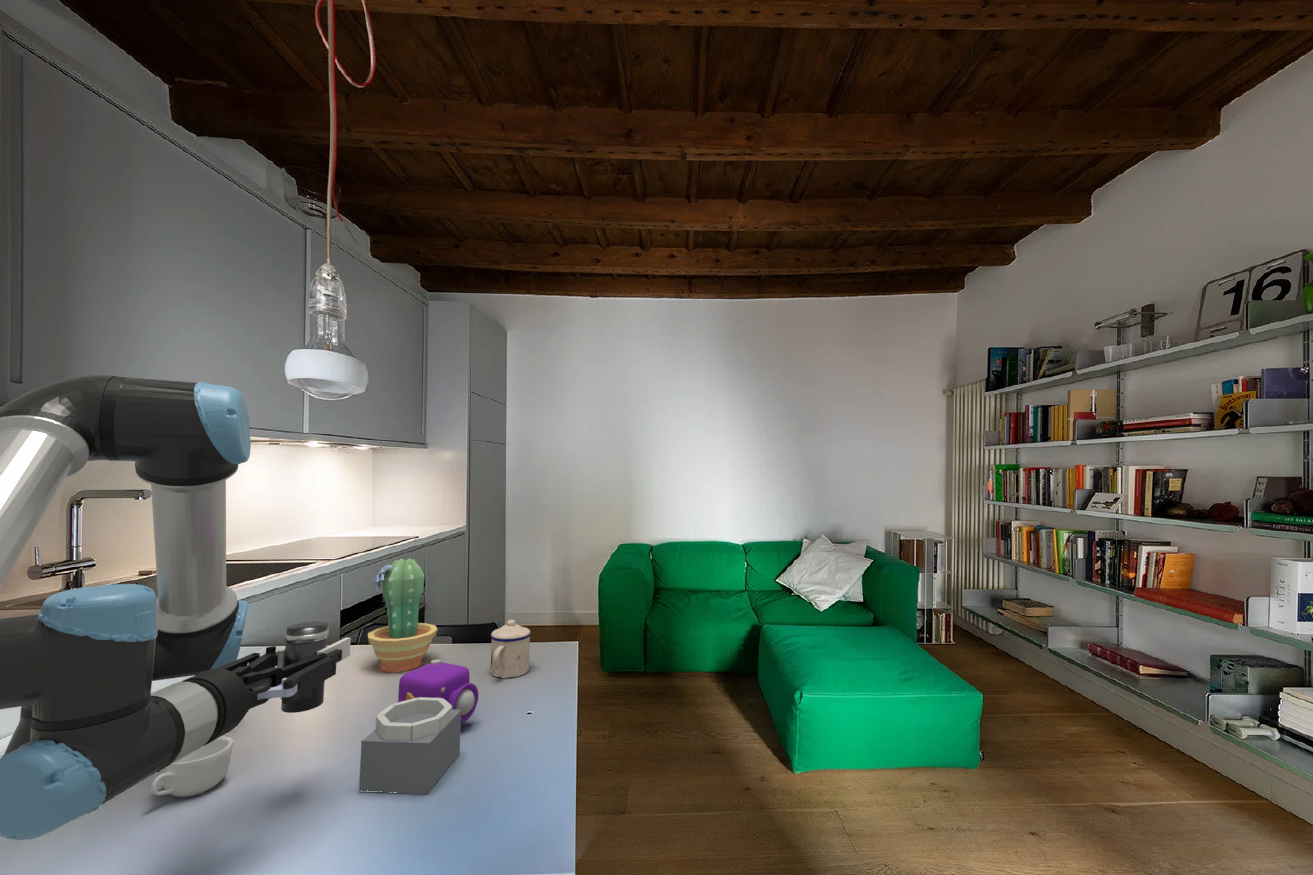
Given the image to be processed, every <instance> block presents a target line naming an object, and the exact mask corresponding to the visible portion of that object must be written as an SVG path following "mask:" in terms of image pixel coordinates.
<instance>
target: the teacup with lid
mask: <svg viewBox="0 0 1313 875" xmlns="http://www.w3.org/2000/svg"><path fill="white" fill-rule="evenodd" d="M531 635H532V632H531V630H530V629H529V628H528V627H525V626H522V625H520V624H517V621H516V620H515V619H509V620H507V622H506V624H504V625H502V626H501V627H499V628H497V629H495V630H493V631H492V632H491V634H490V638H491V644H490V646H491V648H490V674H491V676H493V677H494V676H495V678H497V677H513V676H518V675H522V674H524V673H526V672H527V671H528V672H529V671H530V648H531V647H530V642H531V641H530V640H531ZM528 672H527V673H528ZM527 673H526V674H527ZM524 675H525V674H524ZM522 676H523V675H522Z"/></svg>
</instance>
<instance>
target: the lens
mask: <svg viewBox="0 0 1313 875" xmlns="http://www.w3.org/2000/svg"><path fill="white" fill-rule="evenodd" d="M329 632H330V627H329V623H328V622H327V621H321V620H319V621H318V620H317V621H307V622H299V623H295V624H291V625H289V626H287V627H286V632H285V633H284V643H285V647H284V648H285V661H284V667H285V666H288V665H290V664H293V663H296V662H299V661H302V660H304V659H307V658H310V657H313V656H316V655H317V651H319V650H322V649H324V648H326V647H328V638H329V634H330V633H329ZM325 682H326V680H325V681H323V682H321V683H320V684H318V685H316V686H314V687H313V688H311V689H309V690H307V691H306V692H304V693H302V694H300V695H299V696H298V697H297V698H296V699H295V700H294V701H293V702H291V703H288V704H283V703H282V702H281V705H280V706H281V707H280V708H281V709H280V710H281V712H284V713H289V714H293V713H295V714H296V713H301V712H302V713H303V712H307V711H310V710H313V709H316V708H318V707H321V705H322V704H324V700H325V699H324V697H325Z"/></svg>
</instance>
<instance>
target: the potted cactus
mask: <svg viewBox="0 0 1313 875" xmlns="http://www.w3.org/2000/svg"><path fill="white" fill-rule="evenodd" d="M381 583H382V585H381ZM424 585H425V573H424V571H423V569H422V568H421V567H420V566H419V564H418V562H416V560H415V559H414V558H413V559H412V558H408V559H403V558H400V559H399V560H397V559H394V561H393V562H392V563H391V564H386V565H384V566H382V568H381V569H380V571H379V573H378V574H377V575H376V577H375V579H374V586H375V592H378V591H379V589H381V586H382V596H383V600H384V603H385V605H386V609H387V611H386V612H387V622H388V625H387V626H386V625H385V626H383V627H378V628H376V629H374V630H371V631H369V632H368V633H367V639H368V644H369V645H371V646H372V649H373V652H374V654H375V657H376V658H377V660H378V661H379V662H380V670H381V671H384V672H385V673H386V672H387V673H400V672H407V671H410V670H411V671H412V670H415V669H418V668H419V667H420V666H421V665H422V664H423V663H422V659H423V657H424V656H425V655H426V654H427V652H428V651H429V648H430V646H431V643H432V640H433V639H434V637H436V636H437V632H438V628H437V626H436V625H435V624H431V623H426V622H424V623H423V622H419V611H420V610H419V609H420V608H419V607H420V606H419V605H420V602H421V598H422V596H423V593H424Z"/></svg>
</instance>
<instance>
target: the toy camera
mask: <svg viewBox="0 0 1313 875" xmlns="http://www.w3.org/2000/svg"><path fill="white" fill-rule="evenodd" d="M470 680H471V678H470V670H469V668H468V667H466V666H462V665H459V664H455V663H454V664H452V663H447V662H443V661H442V660H441V659H433V660H430V663H428V664H425V665H423V666H421V667H420V666H419V667H417V668H414V669H412V670H411V671H410V670H409V671H408V672H407V673H404V674H403V675H402V676H401V677H400V678H399V683H398V695H397V696H398V698H397V703H398V702H402V701H406V700H410V699H413V698H419V697H426V698H443V699H445V700H446V701H447V702H448V703H450V704H451V705H452V710H461V723H465V722H467V721H468V720H469V719H470V718H471V716H472V715H473V713H474V712H475V711H476V708H477V706H478V702H479V689H478V687H477V685H475V684H474V683H473V682H472V683H471V682H470Z"/></svg>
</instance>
